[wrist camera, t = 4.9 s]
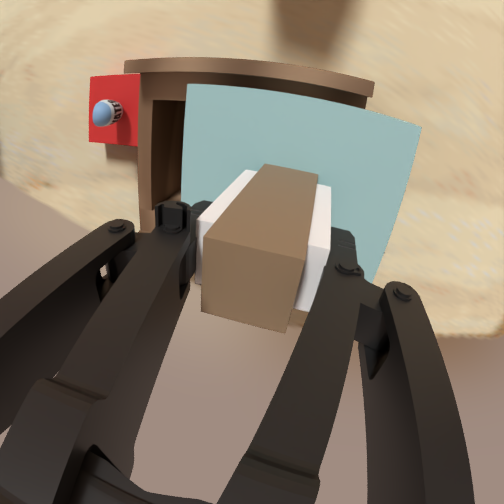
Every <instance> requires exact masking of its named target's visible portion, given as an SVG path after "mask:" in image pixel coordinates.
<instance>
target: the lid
mask: <svg viewBox="0 0 504 504" xmlns="http://www.w3.org/2000/svg"><path fill="white" fill-rule="evenodd" d="M421 128H422V127H420V126H418V125H415V124H412V123H409V122H406V121H403V120H400V119H397V118H393V117H390V116H387V115H383V114H380V113H376V112H373V111H369V110H365V109H362V108H358V107H354V106H350V105H345V104H341V103H337V102H332V101H328V100H323V99H318V98H313V97H308V96H302V95H296V94H290V93H284V92H278V91H271V90H263V89H255V88H246V87H236V86H225V85H211V84H187V94H186V106H185V120H184V136H183V155H182V180H181V201H182V202H185V203H187V204H189V205H190V206H193V205H194V204H195V203H197V202H200V201H202V200H206V201H211V202H214V201H215V200H216V199H217V198H218V197H219V196H220V195H221V194H222V193H223V192H224V191H225V190H226V189H227V188H228V187H229V186H230V185H231V184H232V183H233V182H234V181H235V180H236V179H237V178H238V177H239V176H240V175H241V174H242V173H243V172H244V171H245V170H252V171H257V173H256V174H255V175H254V176H253V178H252V179H251V180H250V181H249V182H248V183H247V185H246V186H245V187H244V188H243V189H242V190H241V192H240V193H239V194H238V195H237V196H236V197H235V199H234V200H233V201H232V202H231V203H230V205H229V206H228V207H227V208H226V209H225V211H224V212H223V213H222V214H221V215H220V217H219V218H218V219H217V220H216V221H215V223H214V224H213V225H212V226H211V228H210V229H209V230H208V231H207V232H206V234H205V235H204V236H203V252H202V285H201V312H205V313H208V314H212V315H215V316H219V317H223V318H226V319H230V320H234V321H237V322H241V323H245V324H249V325H253V326H257V327H260V328H264V329H268V330H273V331H277V332H281V333H285V332H286V329H287V325H288V322H289V318H290V315H291V311H292V307H293V304H294V300H295V296H296V293H297V289H298V285H299V281H300V278H301V274H302V270H303V266H304V262H305V257H306V251H307V245H308V239H309V233H310V227H311V221H312V214H313V208H314V201H315V194H316V187H317V184H320V185H325V186H329V187H331V227H335V228H340V229H344V230H348V231H350V232H351V233H352V235H353V236H354V237H355V245H356V252H357V261H358V265H360V266H361V268H362V269H363V270H364V274H365V275H364V279H366V280H367V281H368V282H370V283H372V282H373V279H374V277H375V274H376V272H377V269H378V267H379V264H380V262H381V259H382V256H383V254H384V251H385V248H386V246H387V243H388V240H389V237H390V235H391V232H392V229H393V226H394V223H395V220H396V217H397V214H398V211H399V208H400V205H401V202H402V199H403V195H404V192H405V189H406V185H407V182H408V179H409V175H410V172H411V168H412V164H413V161H414V157H415V153H416V149H417V145H418V141H419V137H420V133H421Z"/></svg>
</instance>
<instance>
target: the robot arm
mask: <svg viewBox="0 0 504 504" xmlns="http://www.w3.org/2000/svg"><path fill="white" fill-rule="evenodd" d="M256 173H257V171H252V170H245V171H244V172H243V173H242V174H241V175H240V176H239V177H238V178H237V179H236V180H235V181H234V182H233V183H232V184H231V185H230V186H229V187H228V188H227V189H226V190H225V191H224V192H223V193H222V194H221V195H220V196H219V197H218V198H217V199H216V200H215V201H214V202H211V201H206V200H202V201H200V202H197V203H195V204H194V205H193V206H190V205H189V204H187V203H185V202H182V201H164V202H161V203H158V204H157V205H155V228H154V229H153V230H152V232H151V233H137V232H135V229H134V224H133V223H132V222H130V221H128V220H123V219H115V220H113V221H109V222H107V223H105V224H103V225H102V226H100V227H99V228H97V229H95V230H94V231H92V232H91V233H89V234H88V235H86V236H85V237H83V238H82V239H80V240H79V241H78V242H76V243H74V244H73V245H72V246H70V247H69V248H67V249H66V250H64V251H63V252H62V253H60V254H59V255H57V256H56V257H54V258H53V259H52V260H50V261H49V262H48V263H46V264H45V265H43V266H42V267H41V268H40V269H38V270H37V271H35V272H34V273H33V274H32V275H30V276H29V277H28V278H26V279H25V280H24V281H22V282H21V283H20V284H18V285H17V286H16V287H15V288H13V289H12V290H11V291H10V292H8V294H6V295H5V296H3V298H1V299H0V434H1V433H2V432H4V431H5V430H6V429H7V428H8V427H9V426H11V427H10V429H9V431H8V433H7V435H6V437H5V440H4V442H3V444H2V446H1V448H0V504H212V503H208V502H205V501H202V500H199V499H191V498H182V497H175V496H168V495H161V494H155V493H150V492H146V491H144V490H143V489H141V488H140V487H138V486H137V485H136V484H134V483H133V482H132V481H130V476H131V473H132V469H133V464H134V444H135V440H136V437H137V434H138V431H139V428H140V425H141V422H142V419H143V416H144V413H145V410H146V407H147V404H148V401H149V398H150V395H151V393H152V390H153V387H154V384H155V381H156V378H157V375H158V372H159V370H160V367H161V364H162V362H163V359H164V356H165V353H166V351H167V348H168V345H169V342H170V340H171V337H172V334H173V332H174V329H175V327H176V324H177V321H178V319H179V316H180V313H181V311H182V308H183V306H184V303H185V300H186V298H187V295H188V293H189V290H190V278H191V277H192V276H193V274H194V273H195V284H199V285H202V252H203V236H204V235H205V234H206V232H207V231H208V230H209V229H210V228H211V226H212V225H213V224H214V223H215V221H216V220H217V219H218V218H219V217H220V215H221V214H222V213H223V212H224V211H225V209H226V208H227V207H228V206H229V205H230V203H231V202H232V201H233V200H234V199H235V197H236V196H237V195H238V194H239V193H240V192H241V190H242V189H243V188H244V187H245V186H246V185H247V183H248V182H249V181H250V180H251V179H252V178H253V176H254V175H255V174H256ZM104 265H105V266H106V271H107V274H106V275H105V276H103V277H102V276H101V273H100V268H102V267H103V266H104ZM364 275H365V274H364V270H363V269H362V268H361V266H360V265H358V261H357V252H356V245H355V237H354V236H353V235H352V233H351V232H350V231H348V230H344V229H340V228H335V227H331V187H329V186H325V185H320V184H317V187H316V194H315V201H314V208H313V214H312V221H311V227H310V233H309V239H308V245H307V251H306V257H305V262H304V266H303V270H302V274H301V278H300V281H299V285H298V289H297V293H296V296H295V300H294V304H293V307H292V308H294V309H298V310H303V311H307V312H309V313H308V316H307V318H306V321H305V323H304V326H303V328H302V331H301V333H300V336H299V338H298V341H297V343H296V346H295V348H294V350H293V353H292V355H291V357H290V360H289V362H288V364H287V367H286V369H285V371H284V374H283V376H282V378H281V381H280V383H279V385H278V387H277V390H276V392H275V394H274V396H273V398H272V400H271V402H270V405H269V407H268V409H267V411H266V413H265V415H264V417H263V420H262V422H261V424H260V426H259V428H258V430H257V432H256V434H255V436H254V438H253V440H252V442H251V444H250V446H249V448H248V450H247V451H246V453H245V454H244V456H243V457H242V459H241V461H240V462H239V464H238V466H237V468H236V470H235V472H234V473H233V475H232V477H231V479H230V481H229V482H228V484H227V486H226V488H225V490H224V492H223V493H222V495H221V497H220V498H219V500H218V502H217V504H314V503H315V501H316V498H317V494H318V491H319V486H320V480H319V477H318V474H319V469H320V465H321V463H322V460H323V457H324V453H325V450H326V447H327V444H328V441H329V437H330V434H331V431H332V427H333V424H334V420H335V416H336V413H337V410H338V406H339V402H340V398H341V394H342V390H343V386H344V382H345V378H346V374H347V369H348V365H349V360H350V356H351V351H352V346H353V341H354V340H356V341H358V342H359V343H358V350H359V358H360V366H361V376H362V386H363V397H364V410H365V424H366V442H367V477H368V478H367V479H368V498H367V499H368V500H367V504H475V502H474V492H473V484H472V477H471V470H470V464H469V458H468V453H467V447H466V442H465V438H464V433H463V428H462V424H461V420H460V416H459V412H458V408H457V404H456V400H455V397H454V393H453V390H452V386H451V383H450V379H449V376H448V373H447V370H446V367H445V364H444V360H443V357H442V354H441V351H440V349H439V346H438V343H437V340H436V337H435V334H434V332H433V329H432V326H431V324H430V321H429V319H428V316H427V313H426V311H425V308H424V306H423V304H422V301H421V299H420V296H419V295H418V293H417V292H416V291H415V290H414V289H413V288H412V287H411V286H409V285H407V284H405V283H401V282H395V281H392V282H389V283H387V284H386V286H385V288H384V289H382V288H380V287H378V286H376V285H374V284H372V283H370V282H368V281H367V280H366V279H364ZM59 370H60V371H59ZM58 371H59V372H58ZM57 372H58V374H57ZM56 374H57V375H56ZM55 375H56V376H55ZM54 376H55V377H54ZM53 377H54V378H53Z"/></svg>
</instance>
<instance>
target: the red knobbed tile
mask: <svg viewBox="0 0 504 504" xmlns="http://www.w3.org/2000/svg"><path fill="white" fill-rule="evenodd" d="M139 86H140V74H124V75H107V76H95V77H91V78H90V96H89V142H97V143H109V144H119V145H129V146H138V106H139Z"/></svg>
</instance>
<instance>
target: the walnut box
mask: <svg viewBox="0 0 504 504" xmlns="http://www.w3.org/2000/svg"><path fill="white" fill-rule="evenodd" d="M124 73H140V86H139V106H138V194H139V214H140V231H139V232H138V233H151V232H152V230H153V229H154V228H155V205H157V204H158V203H161V202H164V201H181V180H182V155H183V136H184V120H185V106H186V94H187V84H211V85H225V86H236V87H246V88H255V89H263V90H271V91H278V92H284V93H290V94H296V95H302V96H308V97H313V98H318V99H323V100H328V101H332V102H337V103H341V104H345V105H350V106H354V107H358V108H362V109H365V107H366V102H367V97H372V95H373V90H374V84H375V82H373V81H369V80H365V79H361V78H357V77H353V76H349V75H345V74H340V73H336V72H331V71H326V70H321V69H315V68H310V67H304V66H297V65H291V64H284V63H276V62H267V61H258V60H246V59H232V58H207V57H176V58H152V59H138V60H127V61H125V63H124Z"/></svg>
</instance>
